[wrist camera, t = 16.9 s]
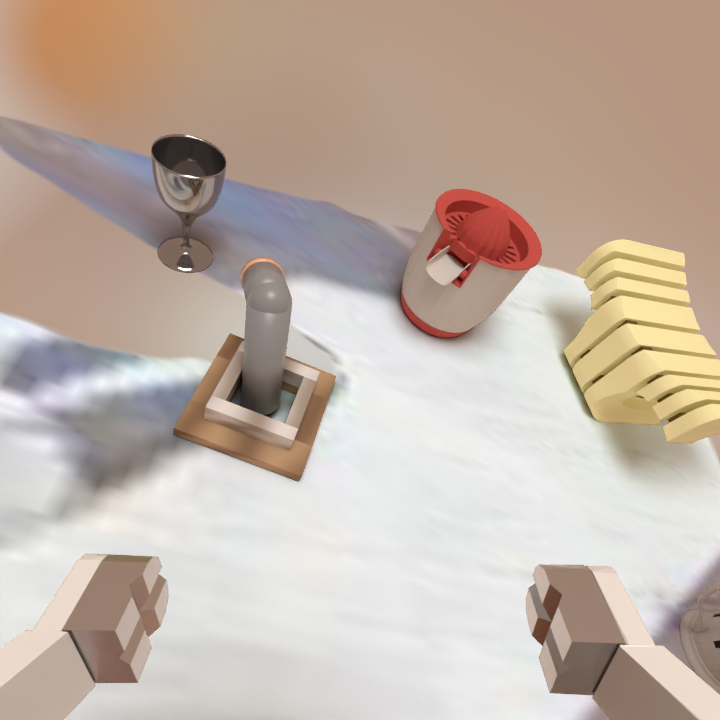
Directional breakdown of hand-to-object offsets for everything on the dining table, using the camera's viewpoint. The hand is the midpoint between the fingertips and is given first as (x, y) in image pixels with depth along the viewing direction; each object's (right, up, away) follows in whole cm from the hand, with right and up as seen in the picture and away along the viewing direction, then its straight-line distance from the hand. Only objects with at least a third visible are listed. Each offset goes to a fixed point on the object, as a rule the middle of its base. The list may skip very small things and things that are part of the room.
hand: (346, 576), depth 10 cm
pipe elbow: (-12, +1, +44) cm, 45 cm away
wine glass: (-24, +19, +53) cm, 61 cm away
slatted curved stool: (+41, 0, +66) cm, 77 cm away
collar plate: (-11, -1, +43) cm, 45 cm away
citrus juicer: (+11, +12, +63) cm, 65 cm away
